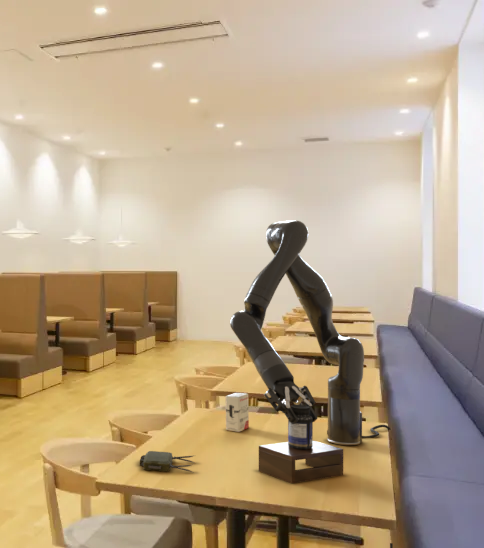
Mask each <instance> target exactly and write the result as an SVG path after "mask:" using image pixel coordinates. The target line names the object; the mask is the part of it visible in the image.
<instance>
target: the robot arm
mask: <svg viewBox="0 0 484 548" xmlns="http://www.w3.org/2000/svg"><path fill="white" fill-rule="evenodd" d="M265 239H266V243H267V246H268V247H269V249H270V251H271V252H272V253H273V255H274V256H273V257H272V259H271V260H270V261H269V262H268V263H267V264H266V266H265V267H264V268H263V269H261V271H260V272H259V273H258V274H257V275H256V276H255V278H254V279H253V281H251V284H250V287H249V288H248V290H247V293H246V295H245V296H244V300H243V305H244V310H239V311H236V312H234V313H233V314H232V315H231V317H230V320H229V325H230V328H231V330H232V332H233V334H234V335H235V336H236V337H237V339H238V340H239V342H240V344H241V345H242V346H243V347H244V349H245V351H246V353H247V355H248V357H249V358H250V360H251V361H252V364H253V365H254V367H255V369H256V372H257V373H258V375H259V377H260V378H261V380H262V382H263V383H264V384H265V386H266V388H267V390H266V392H265V393H263V395H264V397H265V398H266V400H267V401H268V403H269V404H270V405H271V406H272V408H273V409H274V411H275V412H281V413H282V414H284V415H285V417H286V418H287V421H288V420H289V421H290V422H291V424H296V423H297V422H298V418H297V416H296V415H295V413H294V412H293V410H292V408H291V403H292V404H293V405H306V406H309V407H310V412H309V415H310V416H311V417H312V418H313V423H315V422H316V421H317V420H318V415H317V413H316V411H315V410H314V408H313V406H314V405H315V404H316V400H315V399H314V397H313V395H312V393H311V391H310V389H309V387H308V386H307V385H303V386H302V387H300V386H298V385H297V384H296V383H295V377H294V375H293V374H292V372H291V371H290V369H289V367H288V366H287V364H286V363H285V361H284V360H283V358H282V357H281V356H280V355H279V354H278V353H277V351H276V349H275V348H274V347H273V345H272V343H271V342H270V341H269V339H268V338H267V337H266V336H265V334H264V333H263V331H262V328H263V326H264V321H265V318H266V314H267V310H268V308H269V306H270V304H271V301H272V299H273V297H274V295H275V293H276V292H277V289H278V288H279V285H280V283H281V282H282V280H283V279H284V277H285V275H286V277H287V279H288V281H289V283H290V285H291V287H292V288H293V289H292V290H293V291H294V293H295V295H296V297H297V300H298V301H299V303H300V306H301V307H302V310H303V311H304V313H305V315H306V317H307V320H308V321H309V324H310V326H311V328H312V330H313V332H314V335H315V338H316V340H317V343H318V345H319V349H320V351H321V354H322V356H323V358H324V359H325V360H326V362H328V363H329V364H331V365H335V366H338V372H337V374H335V375H333V376H330V377H329V378H328V379H327V430H326V435H327V436H326V437H327V438H326V441H327V442H328V443H331V444H335V445H341V446H358V445H361V444H362V443H363V439H372V438H376V437H379V436H380V432H379V431H377V429H379V428H385V429H387V430H389V431H390V430H391V427H390V426H389V425H386V424H377V425H375V426H373V427H370V432H371V433H373V434H371V435H363V413H362V412H361V384H362V381H363V378H364V365H365V350H364V346H363V343H362V342H361V341H360V340H359V339H358V338H355V337H349V336H342V335H340V334H339V332H338V330H337V329H336V327H335V325H334V322H333V309H334V299H333V296H332V293H331V291H330V289H329V287H328V285H327V283H326V282H325V280H324V277H322V276H321V275H320V274H319V273H318V272H317V271H316V270H315V269H314V268H313V267H311V266H310V265H309V264H308V263H307V262H306V261H305V260H304V259H303V258H302V256H301V255H300V253H301V252H302V250H303V249H304V247H305V246H306V244H307V242H308V239H309V230H308V227H307V226H306V224H305V223H304V222H303V221H300V220H294V219H292V220H282V221H276V222H272V223H271V224H269V225H268V226H267V229H266V231H265ZM389 548H394V544H393V542H389Z"/></svg>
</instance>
